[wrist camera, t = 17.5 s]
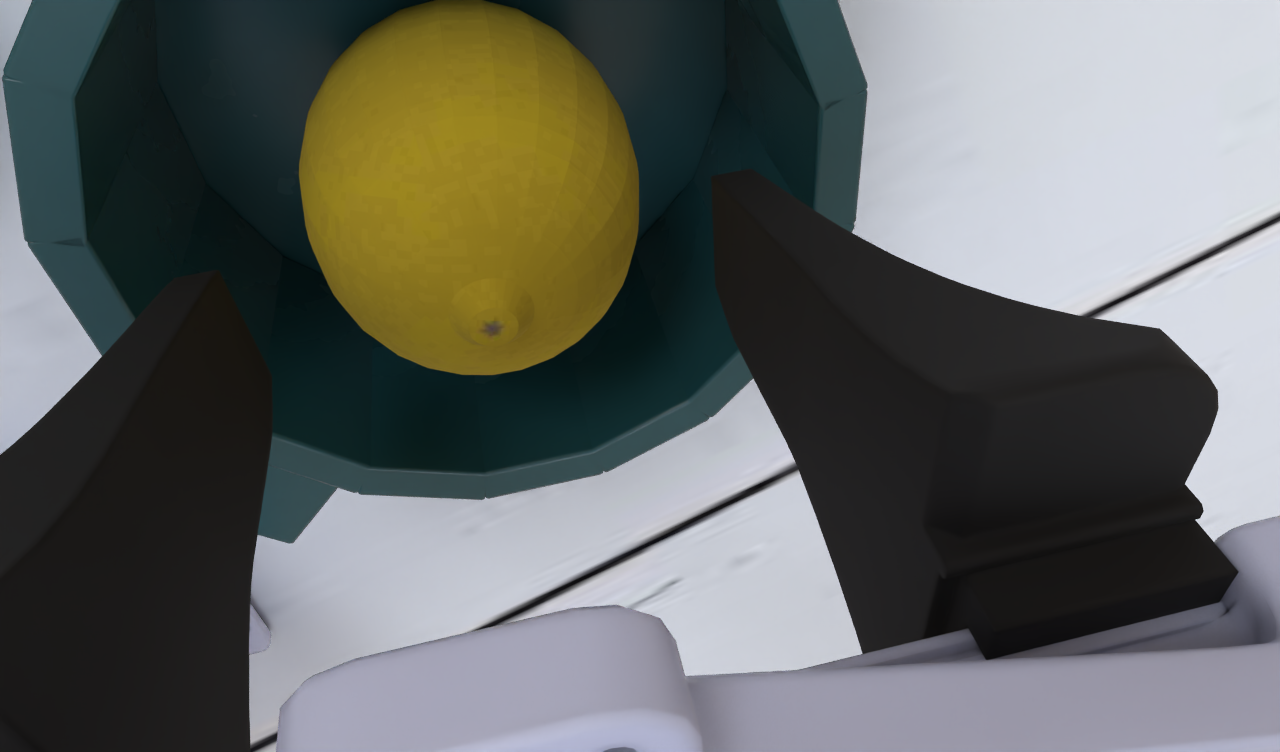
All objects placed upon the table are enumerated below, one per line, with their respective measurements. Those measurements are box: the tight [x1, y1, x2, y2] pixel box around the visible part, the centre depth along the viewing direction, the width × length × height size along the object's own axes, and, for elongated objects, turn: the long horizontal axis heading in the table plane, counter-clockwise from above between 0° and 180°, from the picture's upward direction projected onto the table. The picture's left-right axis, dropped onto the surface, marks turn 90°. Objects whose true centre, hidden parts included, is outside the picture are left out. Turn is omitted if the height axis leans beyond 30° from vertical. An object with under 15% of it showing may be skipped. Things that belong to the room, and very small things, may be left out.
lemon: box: [299, 0, 639, 375], centre depth 15 cm, size 6×6×8 cm
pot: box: [2, 0, 867, 543], centre depth 16 cm, size 13×18×6 cm
